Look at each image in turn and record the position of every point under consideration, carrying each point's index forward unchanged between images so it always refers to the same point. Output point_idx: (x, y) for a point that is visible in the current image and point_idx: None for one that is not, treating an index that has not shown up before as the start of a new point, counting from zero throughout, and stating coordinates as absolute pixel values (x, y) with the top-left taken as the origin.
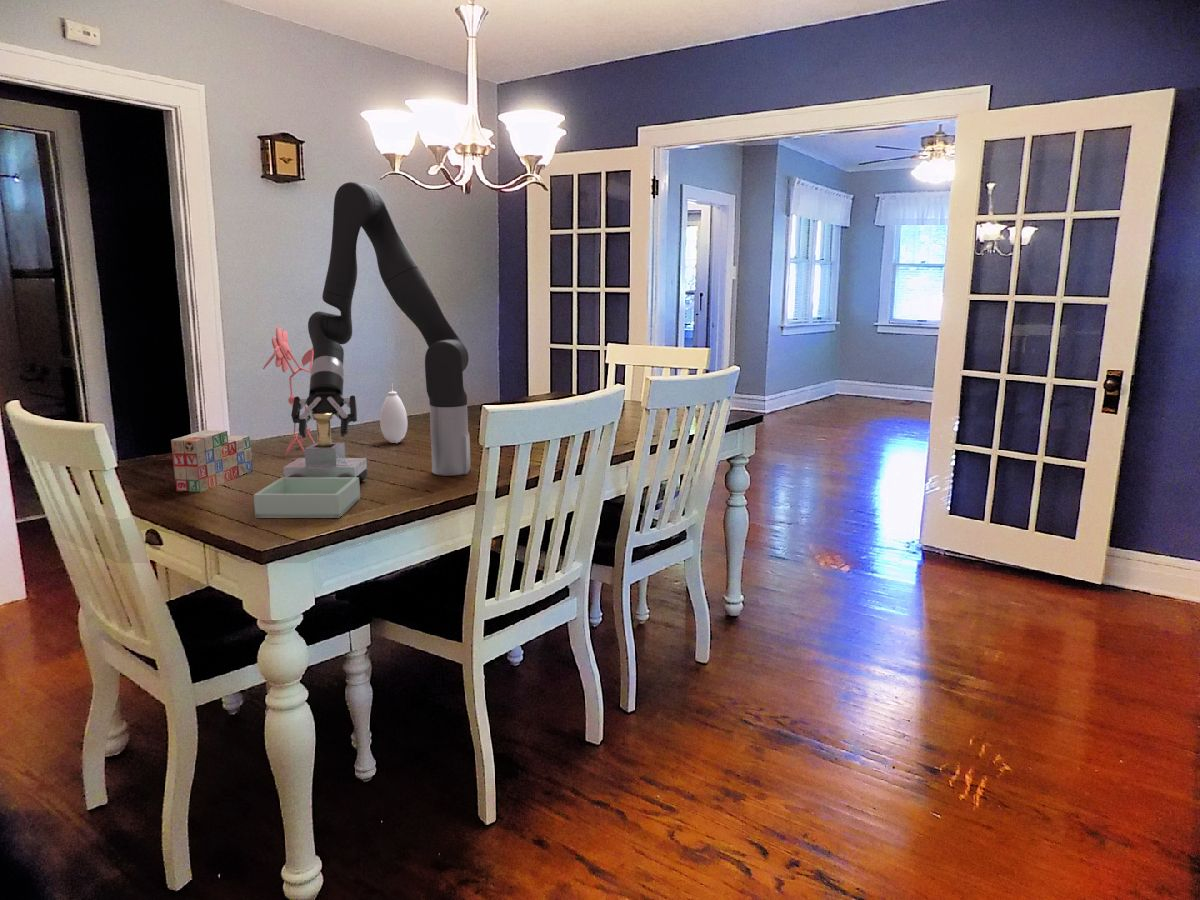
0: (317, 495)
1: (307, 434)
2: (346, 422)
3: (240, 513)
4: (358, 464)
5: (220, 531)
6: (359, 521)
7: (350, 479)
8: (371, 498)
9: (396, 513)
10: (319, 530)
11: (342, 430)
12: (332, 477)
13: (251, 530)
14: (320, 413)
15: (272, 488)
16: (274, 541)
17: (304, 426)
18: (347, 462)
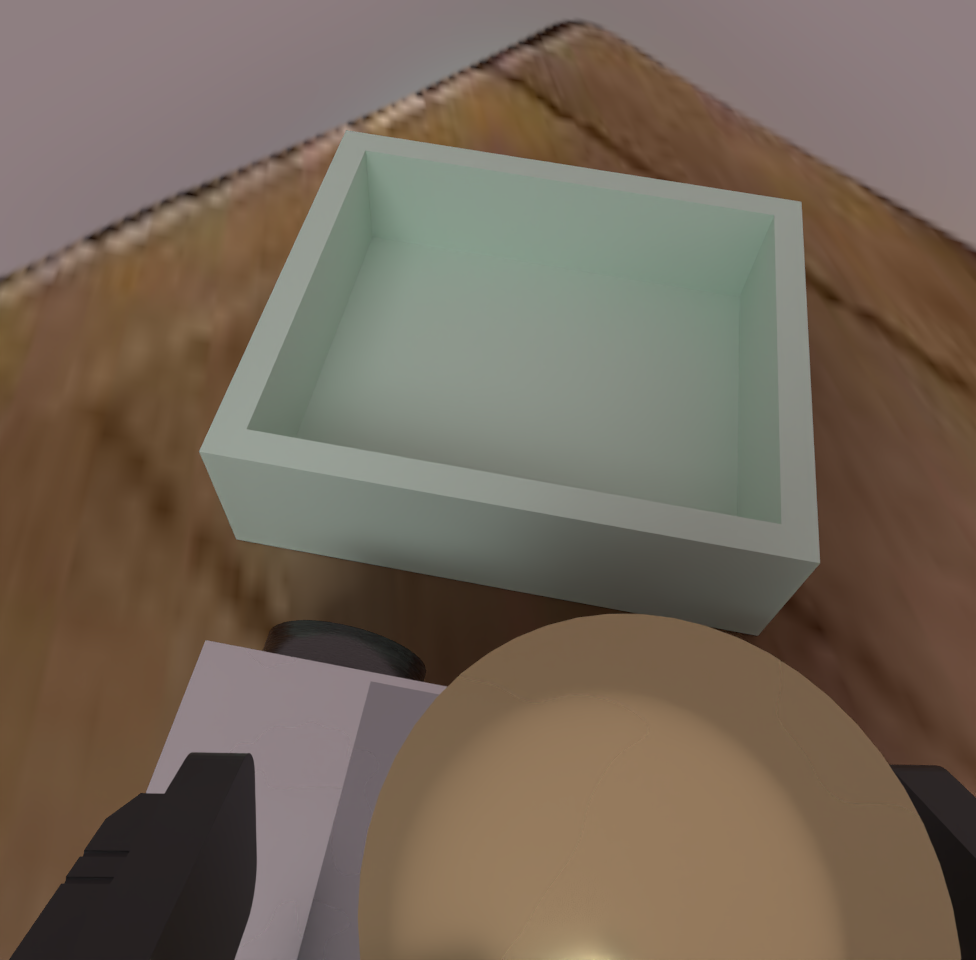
0: (455, 150)
1: None
2: (40, 953)
3: (878, 395)
4: (149, 785)
5: (826, 188)
6: (269, 195)
7: (268, 435)
8: (159, 555)
9: (78, 261)
10: (432, 135)
11: (207, 762)
12: (405, 487)
13: (705, 177)
14: (734, 918)
15: (771, 353)
16: (575, 75)
17: (968, 844)
18: (263, 917)
